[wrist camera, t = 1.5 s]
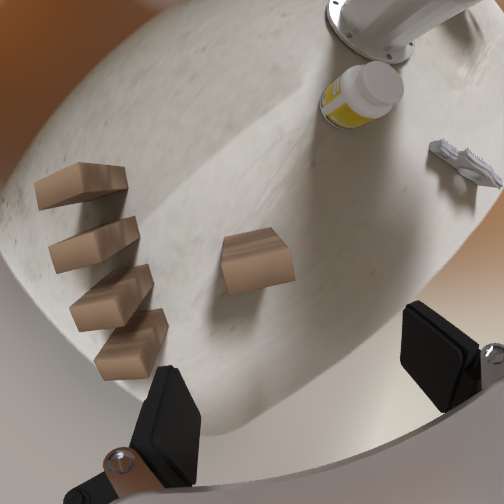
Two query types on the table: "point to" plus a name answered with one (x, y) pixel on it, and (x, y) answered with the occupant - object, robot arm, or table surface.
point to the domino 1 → (79, 184)
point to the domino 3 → (112, 299)
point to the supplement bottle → (361, 95)
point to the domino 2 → (93, 245)
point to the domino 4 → (133, 347)
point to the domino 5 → (255, 261)
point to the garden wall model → (467, 164)
